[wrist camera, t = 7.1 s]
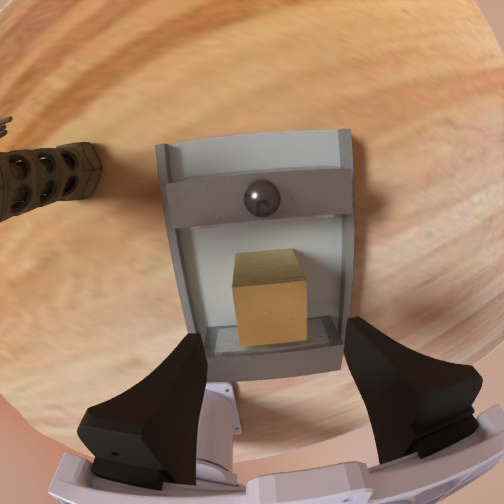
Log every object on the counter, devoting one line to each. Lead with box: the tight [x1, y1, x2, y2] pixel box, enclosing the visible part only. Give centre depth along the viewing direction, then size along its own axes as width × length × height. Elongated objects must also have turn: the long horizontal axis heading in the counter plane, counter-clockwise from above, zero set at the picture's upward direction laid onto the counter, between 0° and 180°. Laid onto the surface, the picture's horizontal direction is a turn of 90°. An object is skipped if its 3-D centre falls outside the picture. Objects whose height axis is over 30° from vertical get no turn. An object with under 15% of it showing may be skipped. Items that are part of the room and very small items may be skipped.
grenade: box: [0, 116, 102, 222], centre depth 11 cm, size 9×6×15 cm, turn 88°
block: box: [232, 248, 307, 347], centre depth 18 cm, size 4×4×6 cm
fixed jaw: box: [203, 315, 344, 383], centre depth 20 cm, size 3×10×4 cm, turn 95°
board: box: [155, 129, 355, 355], centre depth 20 cm, size 18×13×2 cm
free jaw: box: [165, 166, 353, 230], centre depth 16 cm, size 3×10×5 cm, turn 95°
